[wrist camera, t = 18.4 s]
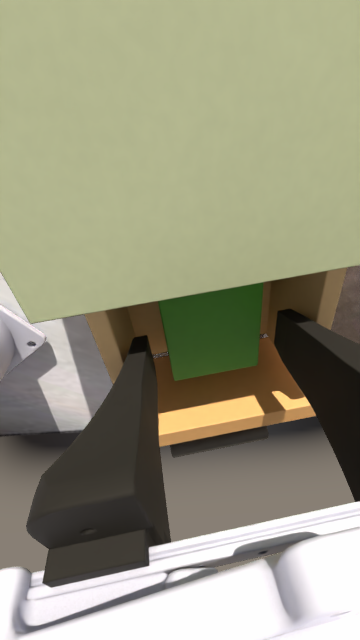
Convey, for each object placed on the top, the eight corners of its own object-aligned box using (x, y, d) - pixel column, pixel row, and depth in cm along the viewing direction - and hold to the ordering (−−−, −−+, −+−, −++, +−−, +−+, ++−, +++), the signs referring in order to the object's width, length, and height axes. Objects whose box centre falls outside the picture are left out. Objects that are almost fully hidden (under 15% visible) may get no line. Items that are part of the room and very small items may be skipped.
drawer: (272, 388, 23) (308, 457, 18) (141, 413, 23) (143, 490, 18) (301, 155, 13) (400, 172, 8) (65, 193, 13) (21, 234, 8)
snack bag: (150, 251, 14) (154, 284, 11) (238, 236, 14) (265, 265, 11) (169, 347, 18) (175, 390, 15) (237, 335, 18) (257, 374, 15)
